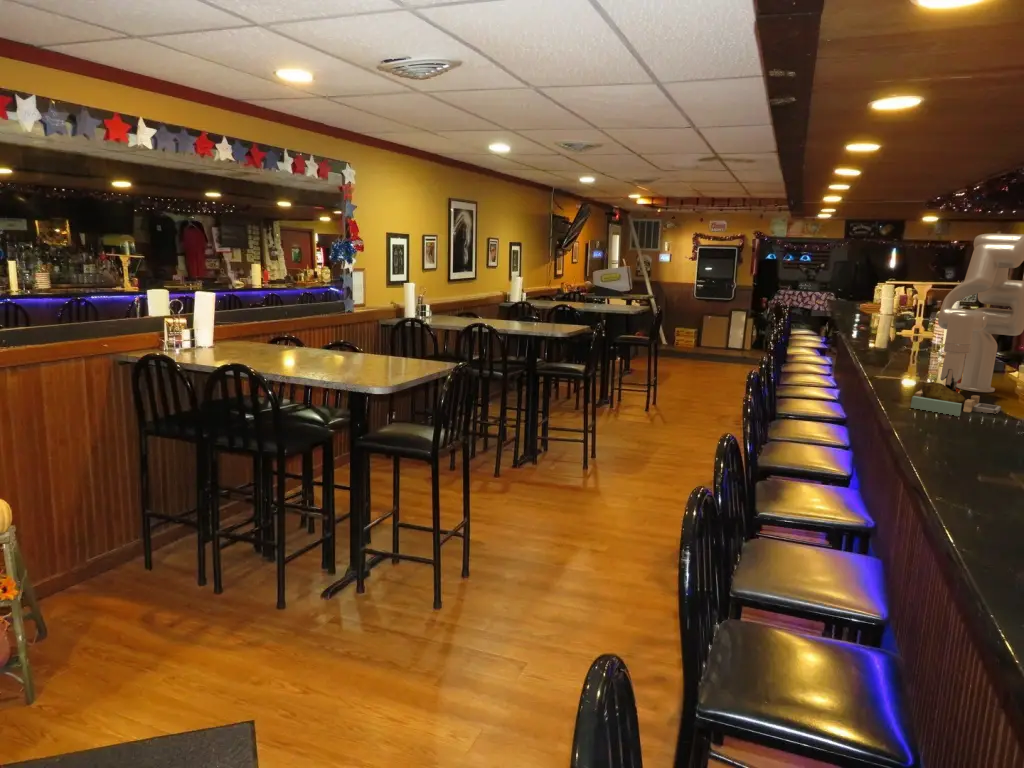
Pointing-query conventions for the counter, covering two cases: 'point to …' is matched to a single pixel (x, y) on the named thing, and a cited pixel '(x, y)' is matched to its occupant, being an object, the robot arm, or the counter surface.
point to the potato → (941, 393)
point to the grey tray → (986, 408)
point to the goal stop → (936, 405)
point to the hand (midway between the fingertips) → (948, 399)
